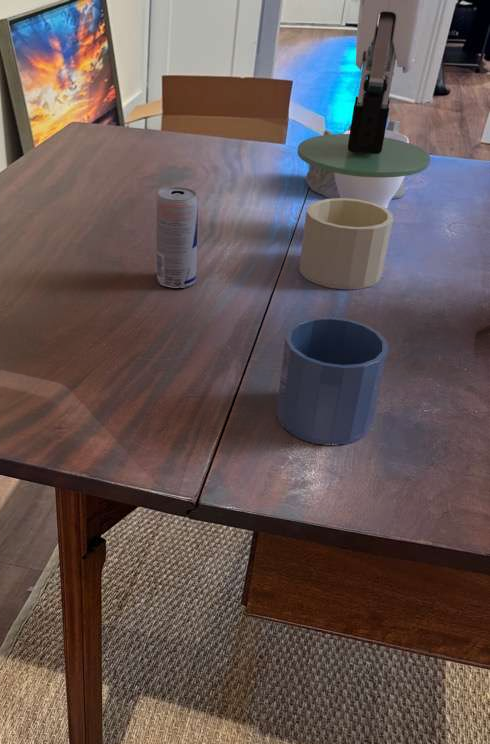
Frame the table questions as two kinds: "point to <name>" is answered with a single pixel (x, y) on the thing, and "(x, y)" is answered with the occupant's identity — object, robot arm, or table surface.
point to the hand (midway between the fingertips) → (365, 145)
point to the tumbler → (330, 379)
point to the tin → (345, 243)
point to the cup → (370, 182)
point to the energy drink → (177, 236)
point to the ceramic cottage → (325, 180)
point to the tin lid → (363, 157)
